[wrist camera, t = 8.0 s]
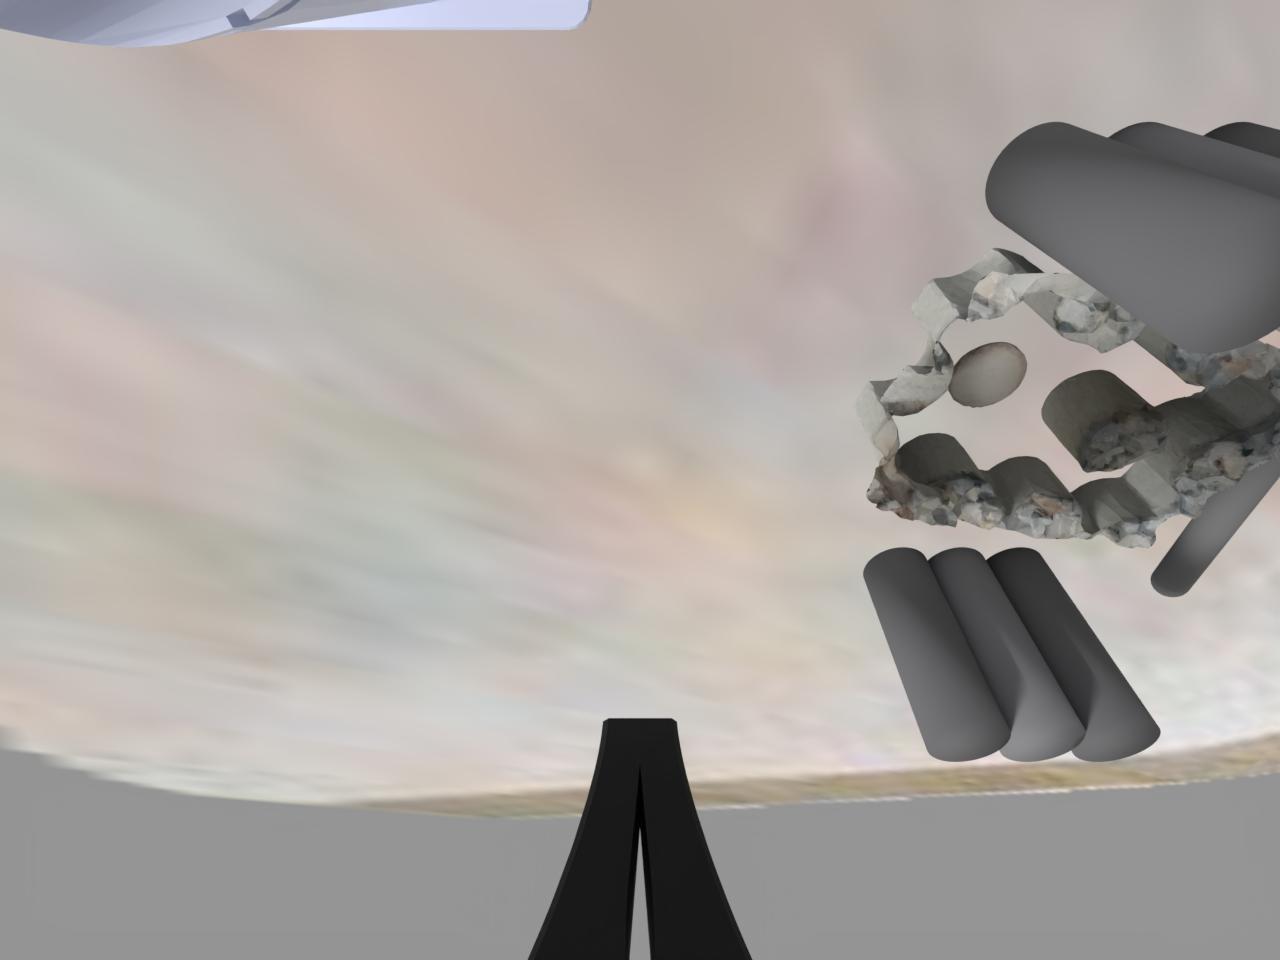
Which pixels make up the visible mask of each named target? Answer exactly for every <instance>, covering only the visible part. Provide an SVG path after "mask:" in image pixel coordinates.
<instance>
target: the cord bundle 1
mask: <svg viewBox="0 0 1280 960" xmlns="http://www.w3.org/2000/svg"><path fill="white" fill-rule="evenodd" d="M863 577H864V580H865V583H866V586H867V588H868V591H869V594H870V597H871V599H872V602H873V605H874V607H875V610H876V613H877V616H878V618H879V621H880V624H881V627H882V629H883V632H884V635H885V637H886V640H887V643H888V646H889V648H890V651H891V654H892V656H893V659H894V662H895V665H896V667H897V670H898V673H899V676H900V678H901V681H902V684H903V686H904V689H905V692H906V695H907V697H908V700H909V703H910V705H911V708H912V711H913V714H914V716H915V719H916V722H917V725H918V727H919V730H920V733H921V735H922V738H923V741H924V744H925V746H926V749H927V752H928V753H929V754H930V755H931V756H932V757H934V758H936V759H938V760H942V761H948V762H964V761H972V760H976V759H980V758H983V757H986V756H989V755H991V754H993V753H995V752H997V751H1000V753H1001V754H1002V755H1003V756H1004V757H1005V758H1007V759H1010V760H1013V761H1019V762H1035V761H1043V760H1048V759H1051V758H1055V757H1058V756H1061V755H1063V754H1065V753H1067V752H1069V751H1072V753H1073V754H1074V756H1075V757H1077V758H1079V759H1081V760H1084V761H1090V762H1107V761H1114V760H1119V759H1123V758H1126V757H1130V756H1132V755H1135V754H1137V753H1140V752H1142V751H1144V750H1145V749H1147V748H1149V747H1150V746H1151V745H1153V744H1154V743H1155V742H1156V741H1157V740H1158V738H1159V737H1160V734H1161V730H1160V728H1159V726H1158V725H1157V723H1156V722H1155V721H1154V719H1153V718H1152V716H1151V715H1150V713H1149V712H1148V710H1147V709H1146V707H1145V706H1144V704H1143V703H1142V702H1141V700H1140V699H1139V697H1138V696H1137V694H1136V693H1135V691H1134V690H1133V688H1132V687H1131V685H1130V684H1129V683H1128V681H1127V680H1126V678H1125V677H1124V675H1123V674H1122V672H1121V671H1120V669H1119V668H1118V666H1117V665H1116V664H1115V662H1114V661H1113V659H1112V658H1111V656H1110V655H1109V653H1108V652H1107V650H1106V649H1105V647H1104V646H1103V645H1102V643H1101V642H1100V640H1099V639H1098V637H1097V636H1096V634H1095V633H1094V631H1093V630H1092V629H1091V627H1090V626H1089V624H1088V623H1087V621H1086V620H1085V618H1084V617H1083V615H1082V614H1081V612H1080V611H1079V610H1078V608H1077V607H1076V605H1075V604H1074V602H1073V601H1072V599H1071V598H1070V596H1069V595H1068V593H1067V592H1066V591H1065V589H1064V588H1063V586H1062V585H1061V583H1060V582H1059V580H1058V579H1057V577H1056V576H1055V574H1054V573H1053V572H1052V570H1051V569H1050V567H1049V566H1048V564H1047V563H1046V561H1045V560H1044V558H1043V557H1042V555H1041V554H1040V553H1039V552H1038V551H1036V550H1034V549H1031V548H1026V547H1016V548H1010V549H1006V550H1003V551H1000V552H998V553H996V554H994V555H992V556H991V557H989V558H988V559H987V560H986V559H985V558H984V556H983V555H982V554H981V553H980V552H979V551H977V550H975V549H972V548H967V547H957V548H951V549H947V550H944V551H942V552H939V553H937V554H936V555H934V556H932V557H931V558H930V559H929V560H927V559H926V557H925V555H924V554H923V553H922V552H920V551H919V550H916V549H913V548H908V547H898V548H892V549H888V550H885V551H883V552H881V553H879V554H877V555H875V556H874V557H873V558H872V559H870V560H869V562H868V563H867V564H866V566H865V568H864V571H863Z"/></svg>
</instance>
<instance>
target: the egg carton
mask: <svg viewBox="0 0 1280 960" xmlns="http://www.w3.org/2000/svg"><path fill="white" fill-rule="evenodd" d="M1021 301H1024V302H1025V303H1026V304H1027V305H1028V306H1029V307H1030V308H1031V309H1032V310H1033V311H1034V312H1036V313H1037V314H1038V315H1039V316H1040V317H1041V318H1042V319H1043V320H1044V321H1045V322H1047V323H1048V324H1049V325H1050V326H1051V327H1052V328H1053V329H1054V330H1055V331H1056V332H1057V333H1059V334H1060V335H1061V336H1062V337H1064V338H1066V339H1067V340H1069V341H1073V342H1077V343H1082V344H1086V345H1089V346H1091V347H1093V348H1095V349H1097V350H1098V351H1099V352H1100V353H1106V352H1109V351H1111V350H1113V349H1115V348H1117V347H1119V346H1121V345H1123V344H1125V343H1127V342H1130V341H1132V340H1133V341H1135V342H1136V343H1137V344H1138V345H1140V346H1141V347H1142V348H1144V349H1145V350H1146V351H1147V352H1149V353H1150V354H1151V355H1152V356H1154V357H1155V358H1156V359H1157V360H1159V361H1160V362H1161V363H1163V364H1164V365H1165V366H1166V367H1168V368H1169V369H1171V370H1172V371H1173V372H1174V373H1175V374H1176V375H1177V376H1178V377H1179V378H1181V379H1182V380H1183V381H1184V382H1185V383H1187V384H1190V385H1194V386H1203V387H1205V389H1203V390H1202V391H1201V392H1197V393H1194V394H1193V395H1191V396H1188V397H1185V396H1184V397H1182V398H1176V399H1172V400H1169V401H1166V402H1164V403H1161V404H1159V405H1157V406H1155V407H1154V406H1152V405H1151V404H1149V403H1148V402H1147V401H1146V400H1145V399H1143V398H1142V397H1141V396H1140V395H1139V394H1138V393H1137V392H1136V391H1135V390H1133V389H1132V388H1131V387H1129V386H1128V385H1127V384H1126V383H1125V382H1123V381H1122V380H1121V379H1120V378H1118V377H1117V376H1116V375H1115V374H1113V373H1111V372H1109V371H1106V370H1090V371H1086V372H1082V373H1079V374H1077V375H1074V376H1072V377H1070V378H1067V379H1065V380H1064V381H1062V382H1061V383H1060V384H1058V385H1057V386H1056V387H1055V388H1054V389H1053V390H1052V391H1051V392H1050V393H1049V395H1048V396H1047V398H1046V399H1045V401H1044V404H1043V406H1042V409H1041V415H1042V419H1043V421H1044V423H1045V424H1046V425H1047V426H1048V428H1049V429H1050V430H1051V431H1052V432H1053V434H1054V435H1055V436H1056V437H1057V439H1058V440H1059V441H1060V442H1061V444H1062V445H1063V446H1064V447H1065V448H1066V449H1067V450H1068V451H1069V453H1070V454H1071V455H1072V456H1073V457H1074V458H1075V459H1076V460H1077V461H1078V463H1079V464H1080V466H1081V468H1082V470H1083V471H1085V472H1086V473H1090V472H1096V471H1101V472H1111V471H1114V470H1117V469H1122V468H1123V467H1124V466H1127V465H1129V464H1132V463H1134V462H1135V463H1134V464H1133V465H1132V466H1131V467H1130V468H1129V469H1128V470H1127V471H1126V472H1125V473H1124V474H1123V475H1122V476H1121V477H1117V478H1102V479H1097V480H1093V481H1089V482H1087V483H1085V484H1083V485H1081V486H1079V487H1078V488H1076V489H1075V490H1074V491H1072V492H1069V491H1068V489H1067V488H1066V487H1065V486H1064V484H1063V483H1062V482H1061V481H1060V480H1059V478H1058V477H1057V476H1056V475H1055V474H1054V473H1053V471H1052V470H1051V469H1050V468H1049V466H1048V465H1047V464H1046V463H1045V462H1043V461H1042V460H1040V459H1039V458H1037V457H1032V456H1017V457H1013V458H1009V459H1006V460H1004V461H1002V462H1000V463H998V464H997V465H995V466H994V467H992V468H991V469H989V470H986V471H985V470H981V469H978V467H977V466H976V465H975V463H974V462H973V460H972V459H971V457H970V456H969V454H968V453H967V452H966V450H965V449H964V448H963V447H962V445H961V444H960V443H959V442H958V441H957V440H956V438H955V437H953V436H951V435H948V434H945V433H928V434H924V435H919V436H917V437H915V438H914V439H912V440H910V441H908V442H906V443H905V444H904V445H902V446H901V447H900V441H899V434H898V428H897V426H896V424H895V422H894V420H893V418H892V416H893V415H895V416H907V415H912V414H917V413H919V412H920V411H922V410H923V409H925V408H926V407H928V406H929V405H931V404H932V403H933V402H935V401H936V400H938V399H939V398H940V397H941V396H942V395H943V394H944V393H945V392H946V391H947V390H948V391H949V393H950V394H951V396H952V398H953V400H954V401H956V402H958V403H959V404H961V405H963V406H970V407H972V408H975V407H979V408H980V407H984V406H988V405H992V404H995V403H997V402H999V401H1001V400H1003V399H1005V398H1006V397H1008V396H1009V395H1011V394H1012V393H1013V392H1014V391H1015V390H1016V389H1017V388H1018V387H1019V386H1020V384H1021V382H1022V381H1023V379H1024V377H1025V374H1026V371H1027V361H1026V357H1025V355H1024V354H1023V353H1022V352H1021V351H1020V350H1019V349H1018V348H1017V347H1016V346H1015V345H1013V344H1011V343H1007V342H992V343H988V344H984V345H982V346H979V347H977V348H975V349H973V350H971V351H969V352H967V353H966V354H965V355H963V356H962V357H961V358H960V359H959V360H958V362H957V363H956V364H955V365H954V363H953V360H952V358H951V356H950V354H949V353H948V352H947V350H946V349H945V348H944V346H943V345H942V344H941V342H940V339H941V336H942V334H943V333H944V331H945V330H946V329H947V328H948V327H949V325H950V324H951V323H953V322H954V321H955V320H957V319H958V318H959V319H963V320H965V321H967V322H968V323H969V324H970V323H972V322H973V321H975V320H980V319H987V320H990V319H994V318H997V317H1001V316H1004V315H1005V314H1006V313H1007V312H1008V310H1009V309H1010V308H1011V307H1013V306H1015V305H1017V304H1019V303H1020V302H1021ZM911 312H912V313H913V314H914V316H915V317H916V318H917V319H918V320H919V321H920V322H921V323H922V325H923V327H924V329H925V330H926V331H927V332H928V340H927V345H926V348H925V350H924V353H923V355H922V357H921V359H920V360H919V361H918V363H917V364H916V365H915V366H911V365H906V367H905V368H904V369H903V370H902V371H901V372H900V373H899V375H898V376H897V378H894V379H890V380H885V381H869V382H868V383H867V384H866V386H865V387H864V388H863V390H862V392H861V394H860V395H859V397H858V398H857V400H856V401H855V404H854V408H855V410H856V413H857V415H858V417H859V419H860V421H861V423H862V425H863V427H864V429H865V432H866V433H867V435H868V436H869V437H870V441H871V444H872V446H873V449H874V453H875V456H876V459H877V461H878V464H879V466H878V467H876V469H875V475H874V478H873V480H872V482H871V484H870V486H869V488H868V490H867V492H866V497H867V499H868V500H869V501H870V502H871V503H874V504H877V506H876V508H878V509H879V510H881V511H892V512H894V513H895V514H896V515H898V516H899V517H900V518H902V519H908V520H911V521H914V520H920V521H922V522H925V523H927V524H929V525H932V526H933V525H940V526H951V527H955V528H956V525H957V519H959V520H962V521H965V522H967V523H970V524H973V525H975V526H977V527H980V528H983V529H986V530H990V529H992V528H994V527H997V528H1001V529H1005V530H1011V531H1017V532H1019V533H1022V534H1024V535H1027V536H1030V537H1032V538H1035V539H1069V538H1074V537H1076V538H1080V539H1085V540H1088V539H1092V538H1094V537H1095V536H1096V535H1102V536H1105V537H1107V538H1108V539H1110V540H1111V541H1112V542H1114V543H1115V544H1117V545H1118V546H1122V547H1127V548H1135V547H1142V548H1150V547H1151V546H1152V545H1153V544H1154V542H1155V541H1156V534H1155V531H1156V529H1157V527H1158V526H1159V525H1161V524H1162V523H1163V522H1164V521H1166V520H1167V519H1168V518H1170V517H1173V516H1176V515H1179V514H1182V515H1185V516H1187V517H1190V518H1192V519H1196V518H1198V517H1199V516H1200V515H1202V512H1203V509H1204V506H1205V503H1206V500H1207V499H1208V498H1209V497H1210V496H1212V495H1213V494H1215V493H1218V492H1221V491H1224V490H1230V488H1231V486H1236V485H1237V484H1238V483H1239V481H1240V480H1241V478H1242V477H1243V476H1244V475H1245V474H1246V473H1247V472H1248V471H1250V470H1252V469H1254V468H1256V467H1258V466H1260V465H1262V464H1264V463H1266V462H1268V461H1270V460H1272V459H1276V458H1279V448H1280V349H1279V348H1277V347H1275V346H1272V345H1270V344H1268V343H1266V344H1264V343H1263V342H1261V341H1259V340H1257V341H1255V342H1252V343H1250V344H1248V345H1245V346H1242V347H1240V348H1237V349H1233V350H1229V351H1226V352H1220V353H1211V354H1200V353H1193V352H1188V351H1186V350H1183V349H1181V348H1179V347H1178V346H1176V345H1175V344H1173V343H1172V342H1170V341H1169V340H1167V339H1166V338H1165V337H1163V336H1162V335H1160V334H1159V333H1157V332H1156V331H1155V330H1153V329H1152V328H1150V327H1149V326H1147V325H1146V324H1145V323H1143V322H1142V321H1140V320H1139V319H1137V318H1136V317H1135V316H1133V315H1132V314H1130V313H1129V312H1128V311H1126V310H1125V309H1123V308H1122V307H1120V306H1119V305H1118V304H1116V303H1115V302H1113V301H1112V300H1110V299H1109V298H1108V297H1106V296H1105V295H1103V294H1102V293H1100V292H1099V291H1098V290H1096V289H1095V288H1093V287H1092V286H1090V285H1089V284H1088V283H1086V282H1085V281H1083V280H1082V279H1081V278H1079V277H1078V276H1076V275H1075V274H1069V273H1044V272H1043V271H1042V270H1041V269H1039V268H1038V267H1037V266H1035V265H1034V264H1032V263H1031V262H1029V261H1028V260H1027V259H1026V258H1024V257H1023V256H1022V255H1019V254H1017V253H1015V252H1012V251H1009V250H1005V249H1001V248H993V249H991V250H990V251H989V252H987V254H985V255H984V256H983V258H982V259H981V260H980V261H979V262H978V263H977V264H975V265H974V266H973V267H971V268H970V269H969V270H967V271H965V272H963V273H961V274H958V275H954V276H951V277H945V278H934V279H932V280H930V281H929V282H928V283H927V284H926V285H925V287H924V288H923V290H922V291H921V293H920V294H919V296H918V297H917V298H916V299H915V301H914V302H913V304H912V306H911ZM899 447H900V448H899Z"/></svg>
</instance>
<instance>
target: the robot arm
mask: <svg viewBox="0 0 1280 960" xmlns="http://www.w3.org/2000/svg"><path fill="white" fill-rule="evenodd" d="M591 5H592V0H0V28H1V29H5V30H9V31H14V32H19V33H24V34H29V35H34V36H38V37H43V38H49V39H55V40H61V41H67V42H73V43H81V44H90V45H100V46H112V47H147V46H163V45H172V44H178V43H184V42H191V41H197V40H203V39H208V38H211V37H214V36H221V35H228V34H235V33H241V32H248V31H254V30H571V29H575V28H578V27H579V26H580V25H582V24H583V23H584V22H585V21H586V20H587V18H588V16H589V14H590V12H591ZM639 834H641V846H642V859H643V872H644V884H645V897H646V909H647V922H648V934H649V947H650V960H752V958H751V955H750V953H749V951H748V948H747V946H746V944H745V941H744V939H743V937H742V934H741V932H740V930H739V927H738V925H737V922H736V920H735V917H734V915H733V912H732V910H731V907H730V905H729V902H728V900H727V897H726V895H725V892H724V889H723V887H722V884H721V881H720V879H719V876H718V874H717V871H716V868H715V865H714V862H713V860H712V857H711V854H710V851H709V848H708V845H707V842H706V839H705V836H704V833H703V830H702V827H701V824H700V820H699V817H698V814H697V811H696V808H695V804H694V801H693V797H692V794H691V790H690V786H689V782H688V778H687V775H686V770H685V766H684V762H683V757H682V752H681V747H680V741H679V735H678V727H677V721H675V720H674V719H672V718H608V719H606V720H605V721H603V726H602V734H601V741H600V746H599V752H598V757H597V761H596V766H595V770H594V774H593V778H592V782H591V786H590V790H589V793H588V797H587V801H586V804H585V807H584V810H583V813H582V817H581V820H580V823H579V826H578V829H577V833H576V836H575V839H574V842H573V845H572V848H571V851H570V854H569V856H568V859H567V862H566V865H565V867H564V870H563V873H562V875H561V878H560V881H559V884H558V886H557V889H556V892H555V894H554V897H553V900H552V902H551V905H550V907H549V910H548V912H547V915H546V917H545V920H544V922H543V925H542V927H541V929H540V932H539V934H538V936H537V939H536V941H535V943H534V946H533V948H532V950H531V953H530V955H529V957H528V960H630V947H631V934H632V922H633V909H634V897H635V884H636V872H637V859H638V846H639Z"/></svg>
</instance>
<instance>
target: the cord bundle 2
mask: <svg viewBox="0 0 1280 960" xmlns="http://www.w3.org/2000/svg"><path fill="white" fill-rule="evenodd" d="M985 198H986V203H987V206H988V209H989V211H990V213H991V214H992V215H993V217H994V218H996V219H997V220H998V221H999V222H1001V223H1002V224H1004V225H1005V226H1006V227H1008V228H1009V229H1011V230H1012V231H1014V232H1015V233H1016V234H1018V235H1019V236H1021V237H1022V238H1024V239H1025V240H1026V241H1028V242H1029V243H1031V244H1032V245H1034V246H1035V247H1036V248H1038V249H1039V250H1041V251H1042V252H1043V253H1045V254H1046V255H1048V256H1049V257H1051V258H1052V259H1053V260H1055V261H1056V262H1058V263H1059V264H1061V265H1062V266H1063V267H1065V268H1066V269H1068V270H1069V271H1071V272H1072V273H1073V274H1075V275H1076V276H1078V277H1079V278H1081V279H1082V280H1083V281H1085V282H1086V283H1088V284H1089V285H1090V286H1092V287H1093V288H1095V289H1096V290H1098V291H1099V292H1100V293H1102V294H1103V295H1105V296H1106V297H1108V298H1109V299H1110V300H1112V301H1113V302H1115V303H1116V304H1118V305H1119V306H1120V307H1122V308H1123V309H1125V310H1126V311H1128V312H1129V313H1130V314H1132V315H1133V316H1135V317H1136V318H1137V319H1139V320H1140V321H1142V322H1143V323H1145V324H1146V325H1147V326H1149V327H1150V328H1152V329H1153V330H1155V331H1156V332H1157V333H1159V334H1160V335H1162V336H1163V337H1165V338H1166V339H1167V340H1169V341H1170V342H1172V343H1173V344H1175V345H1176V346H1178V347H1179V348H1181V349H1183V350H1186V351H1188V352H1193V353H1200V354H1211V353H1220V352H1226V351H1229V350H1233V349H1237V348H1240V347H1242V346H1245V345H1248V344H1250V343H1252V342H1255V341H1257V340H1259V339H1261V338H1262V337H1264V336H1266V335H1268V334H1270V333H1271V332H1273V331H1274V330H1277V331H1279V332H1280V130H1279V129H1275V128H1271V127H1267V126H1263V125H1259V124H1255V123H1251V122H1235V123H1230V124H1226V125H1223V126H1220V127H1218V128H1216V129H1214V130H1212V131H1210V132H1208V133H1206V134H1205V135H1203V136H1202V135H1199V134H1195V133H1192V132H1189V131H1185V130H1182V129H1178V128H1175V127H1172V126H1168V125H1165V124H1161V123H1157V122H1141V123H1136V124H1133V125H1130V126H1127V127H1125V128H1123V129H1121V130H1119V131H1117V132H1116V133H1114V134H1112V135H1111V136H1109V137H1108V138H1107V137H1104V136H1102V135H1099V134H1096V133H1093V132H1091V131H1088V130H1085V129H1082V128H1079V127H1077V126H1074V125H1071V124H1068V123H1064V122H1048V123H1043V124H1040V125H1037V126H1034V127H1032V128H1030V129H1028V130H1026V131H1025V132H1023V133H1021V134H1020V135H1019V136H1017V137H1016V138H1015V139H1013V140H1012V141H1011V142H1010V143H1009V144H1008V145H1007V146H1006V147H1005V148H1004V149H1003V150H1002V152H1001V153H1000V154H999V156H998V157H997V159H996V160H995V162H994V164H993V166H992V168H991V170H990V172H989V175H988V178H987V182H986V188H985Z"/></svg>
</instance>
